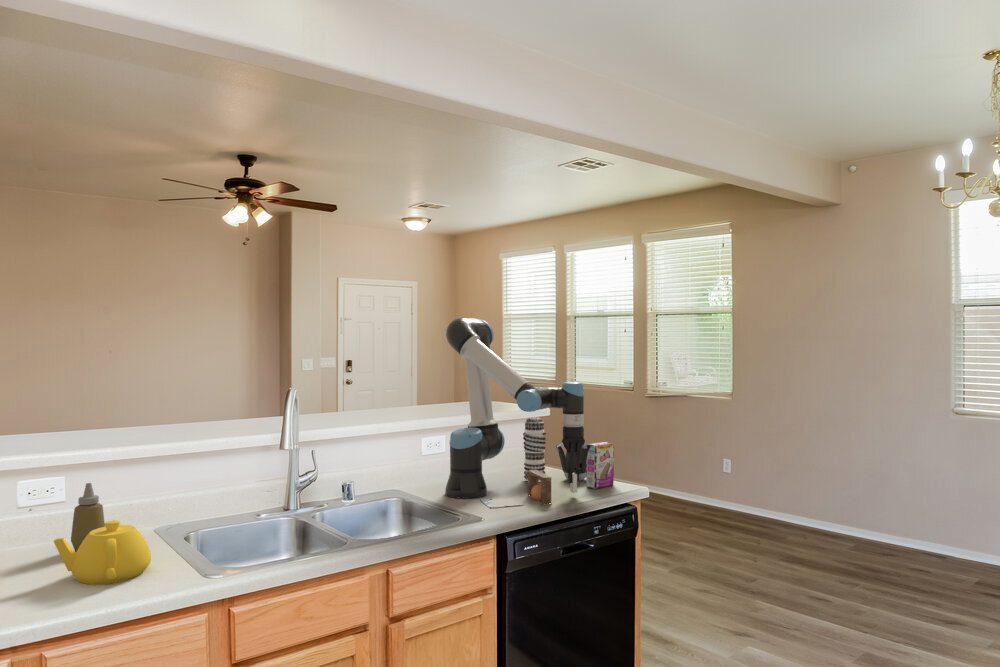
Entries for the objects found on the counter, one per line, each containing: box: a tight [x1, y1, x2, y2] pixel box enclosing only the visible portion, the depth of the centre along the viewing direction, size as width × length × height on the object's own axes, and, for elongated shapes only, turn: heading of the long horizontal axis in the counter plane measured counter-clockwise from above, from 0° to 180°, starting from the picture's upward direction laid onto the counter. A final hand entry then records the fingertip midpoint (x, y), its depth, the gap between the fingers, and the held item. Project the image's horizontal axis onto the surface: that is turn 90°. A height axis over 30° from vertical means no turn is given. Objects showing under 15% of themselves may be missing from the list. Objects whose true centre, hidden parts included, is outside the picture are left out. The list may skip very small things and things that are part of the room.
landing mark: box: [480, 498, 501, 507], centre depth 231 cm, size 12×12×1 cm
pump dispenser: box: [562, 446, 587, 482], centre depth 269 cm, size 10×10×15 cm
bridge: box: [527, 470, 552, 505], centre depth 235 cm, size 3×14×9 cm, turn 18°
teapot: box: [53, 519, 152, 586], centre depth 159 cm, size 20×19×13 cm
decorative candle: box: [522, 416, 547, 482], centre depth 268 cm, size 9×9×25 cm
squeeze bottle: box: [70, 482, 105, 552], centre depth 179 cm, size 8×8×18 cm
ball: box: [531, 483, 541, 501], centre depth 235 cm, size 6×6×6 cm
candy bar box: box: [585, 441, 615, 490], centre depth 257 cm, size 11×5×16 cm, turn 132°
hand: (573, 491), depth 239 cm, fingers closed
